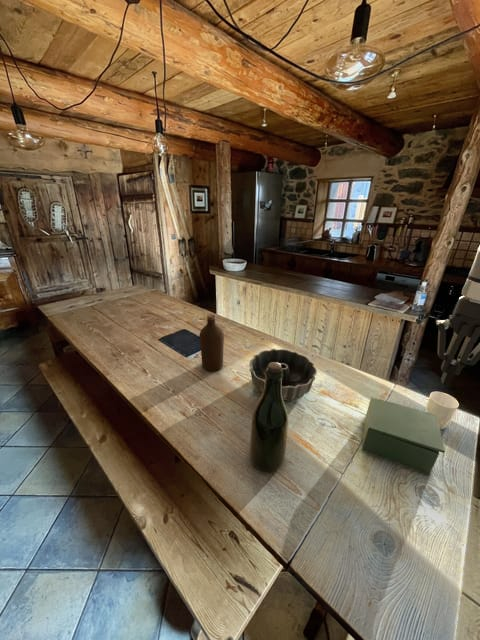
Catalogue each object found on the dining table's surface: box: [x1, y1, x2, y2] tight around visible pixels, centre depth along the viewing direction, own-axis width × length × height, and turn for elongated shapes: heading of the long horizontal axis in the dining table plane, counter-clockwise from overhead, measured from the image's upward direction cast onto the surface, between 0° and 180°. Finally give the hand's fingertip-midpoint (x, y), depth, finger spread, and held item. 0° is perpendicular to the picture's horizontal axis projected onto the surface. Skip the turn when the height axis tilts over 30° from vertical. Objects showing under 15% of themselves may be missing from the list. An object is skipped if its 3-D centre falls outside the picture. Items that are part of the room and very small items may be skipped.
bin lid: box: [368, 396, 446, 454], centre depth 80 cm, size 18×15×1 cm
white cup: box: [424, 391, 460, 430], centre depth 91 cm, size 8×8×10 cm
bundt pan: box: [249, 348, 318, 402], centre depth 107 cm, size 26×26×10 cm
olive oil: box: [198, 314, 225, 372], centre depth 116 cm, size 11×11×25 cm
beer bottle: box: [249, 362, 289, 473], centre depth 72 cm, size 10×10×33 cm
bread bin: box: [361, 399, 440, 476], centre depth 82 cm, size 18×15×9 cm
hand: (444, 382), depth 70 cm, fingers closed
